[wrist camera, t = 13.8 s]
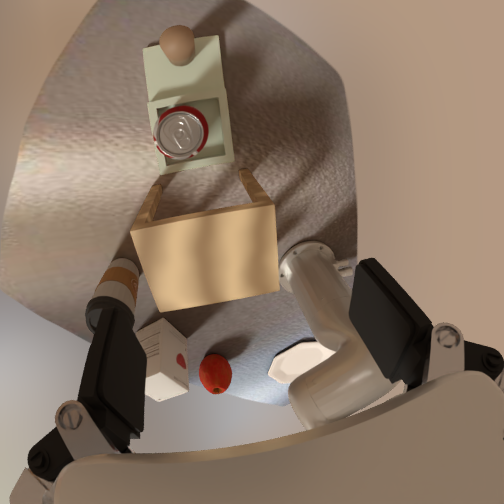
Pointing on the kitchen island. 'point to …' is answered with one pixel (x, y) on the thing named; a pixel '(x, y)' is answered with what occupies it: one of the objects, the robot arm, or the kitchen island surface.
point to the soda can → (181, 132)
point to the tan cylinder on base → (189, 92)
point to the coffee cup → (115, 292)
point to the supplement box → (164, 360)
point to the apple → (215, 373)
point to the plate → (298, 361)
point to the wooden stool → (209, 250)
